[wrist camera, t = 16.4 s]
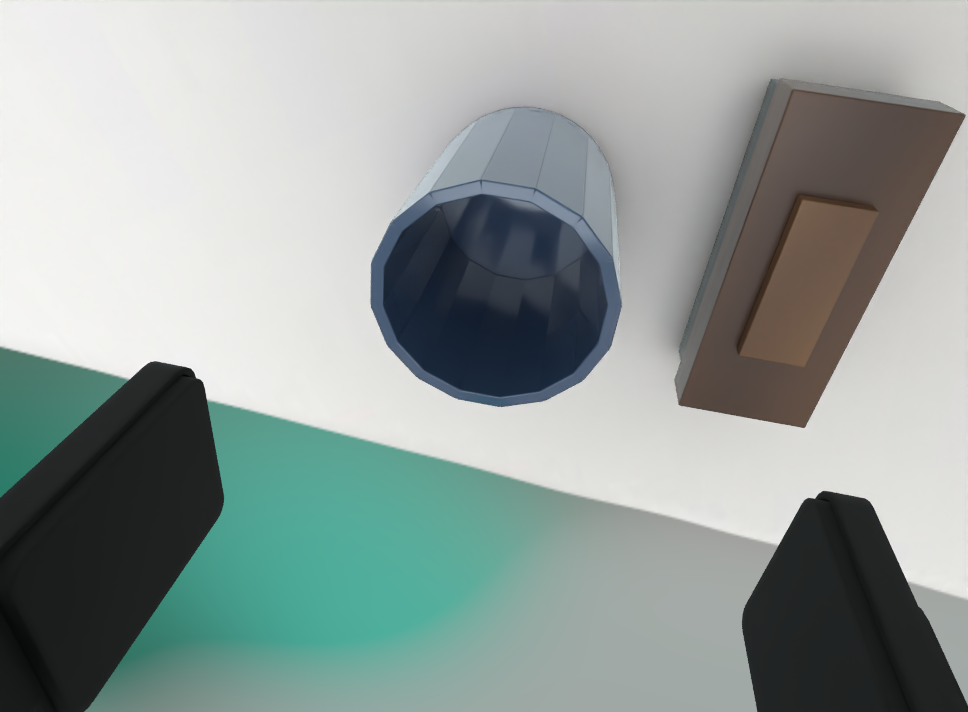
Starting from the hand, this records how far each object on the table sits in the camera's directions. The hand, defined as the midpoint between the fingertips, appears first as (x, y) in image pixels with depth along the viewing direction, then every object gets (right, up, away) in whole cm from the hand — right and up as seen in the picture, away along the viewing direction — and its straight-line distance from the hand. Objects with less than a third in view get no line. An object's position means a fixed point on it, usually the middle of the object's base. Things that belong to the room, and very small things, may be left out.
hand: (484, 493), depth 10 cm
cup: (+2, +8, +16) cm, 18 cm away
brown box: (+11, +7, +15) cm, 20 cm away
